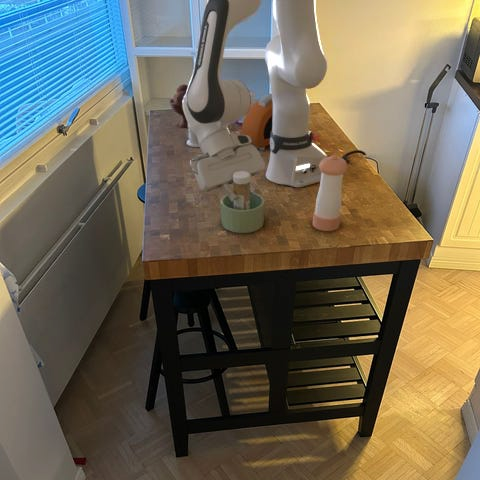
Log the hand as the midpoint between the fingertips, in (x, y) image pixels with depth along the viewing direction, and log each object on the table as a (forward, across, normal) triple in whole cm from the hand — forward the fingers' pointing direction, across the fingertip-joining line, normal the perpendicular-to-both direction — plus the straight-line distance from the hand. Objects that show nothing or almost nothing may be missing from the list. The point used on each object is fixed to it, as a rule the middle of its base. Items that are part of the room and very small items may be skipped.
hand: (243, 196), depth 125 cm
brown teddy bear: (-49, +34, +61) cm, 85 cm away
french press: (-36, +28, +47) cm, 65 cm away
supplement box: (-40, +54, +52) cm, 85 cm away
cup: (+5, 0, +6) cm, 8 cm away
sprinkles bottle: (+5, 0, +6) cm, 8 cm away
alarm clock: (-23, +48, +34) cm, 63 cm away
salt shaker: (+16, +17, -5) cm, 24 cm away
